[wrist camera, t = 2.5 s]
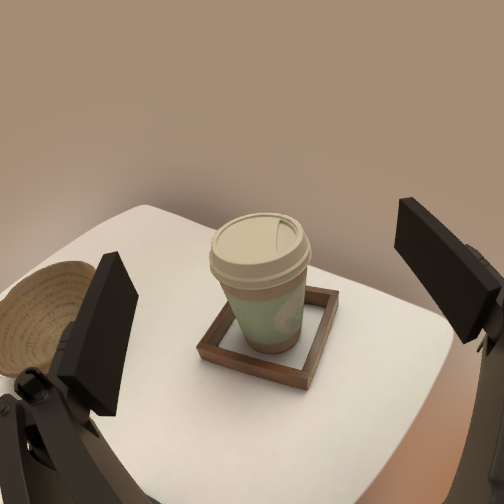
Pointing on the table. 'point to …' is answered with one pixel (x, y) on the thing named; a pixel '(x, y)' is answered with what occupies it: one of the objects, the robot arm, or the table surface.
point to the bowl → (40, 315)
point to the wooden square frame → (264, 368)
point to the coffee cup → (263, 276)
